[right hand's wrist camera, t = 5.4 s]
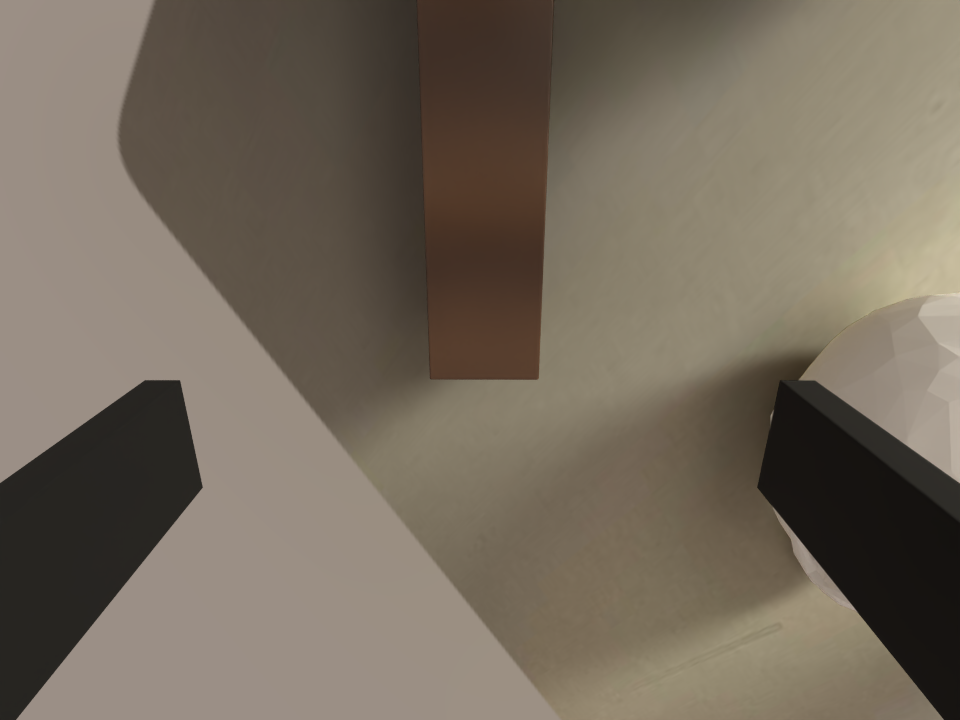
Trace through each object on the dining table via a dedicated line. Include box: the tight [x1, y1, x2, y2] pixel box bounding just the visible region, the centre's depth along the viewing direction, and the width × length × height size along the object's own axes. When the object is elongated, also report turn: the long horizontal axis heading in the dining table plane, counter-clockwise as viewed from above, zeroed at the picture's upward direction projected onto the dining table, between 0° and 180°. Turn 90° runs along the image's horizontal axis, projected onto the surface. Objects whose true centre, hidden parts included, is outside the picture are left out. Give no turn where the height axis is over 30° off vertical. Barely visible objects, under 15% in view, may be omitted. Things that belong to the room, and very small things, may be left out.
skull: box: [770, 292, 960, 613], centre depth 28 cm, size 13×22×16 cm, turn 10°
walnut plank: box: [417, 0, 554, 380], centre depth 25 cm, size 26×5×8 cm, turn 0°
